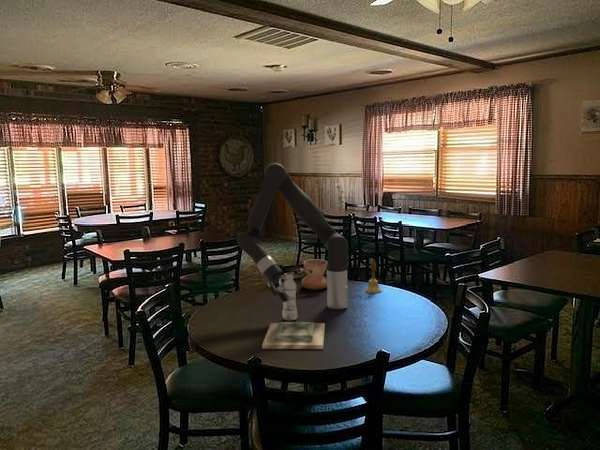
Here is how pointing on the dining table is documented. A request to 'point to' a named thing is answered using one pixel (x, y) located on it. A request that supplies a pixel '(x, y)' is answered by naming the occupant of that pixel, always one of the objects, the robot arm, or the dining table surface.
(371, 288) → the hand bell
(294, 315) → the plastic bottle
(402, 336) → the dining table surface
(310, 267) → the ceramic jug
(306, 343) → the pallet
